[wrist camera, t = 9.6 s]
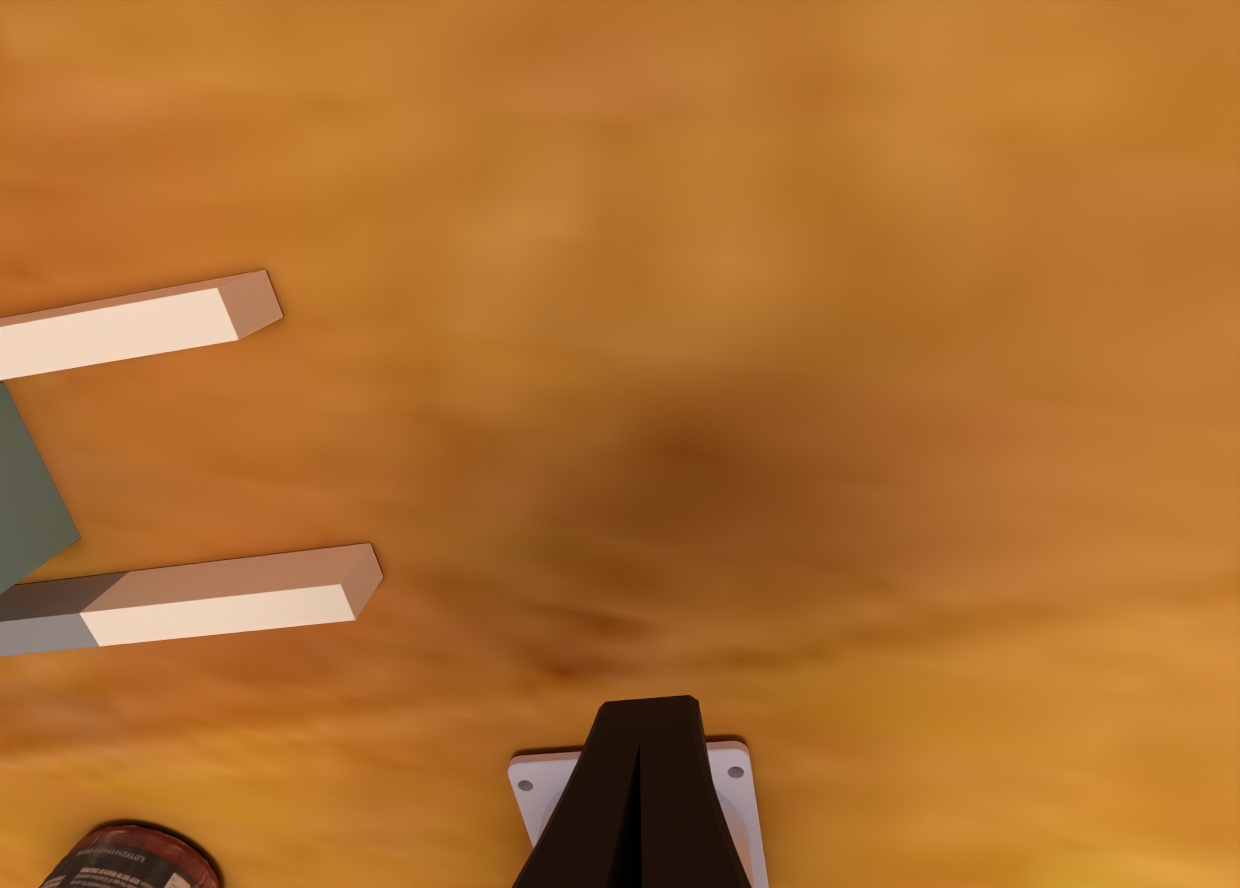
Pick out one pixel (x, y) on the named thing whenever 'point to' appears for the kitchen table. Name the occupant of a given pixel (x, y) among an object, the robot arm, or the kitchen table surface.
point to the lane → (188, 592)
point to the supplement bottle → (131, 862)
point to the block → (27, 502)
